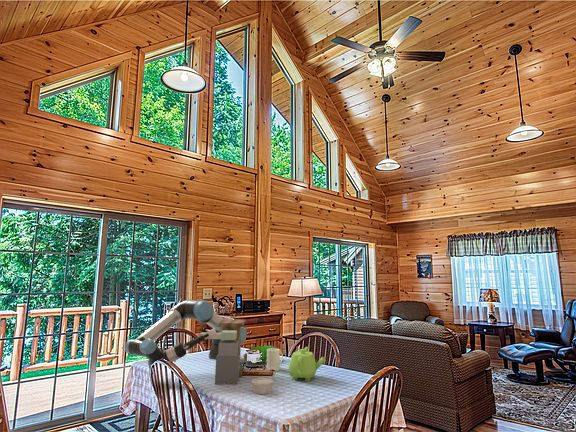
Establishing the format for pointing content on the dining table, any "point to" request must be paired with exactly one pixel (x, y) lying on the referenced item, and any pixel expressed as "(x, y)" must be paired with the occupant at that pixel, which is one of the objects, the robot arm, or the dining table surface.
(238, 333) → the walnut stand
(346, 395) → the dining table surface
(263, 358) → the decorative tree
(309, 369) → the teapot
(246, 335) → the robot arm
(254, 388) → the ramekin
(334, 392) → the dining table surface
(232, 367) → the stepped grey block
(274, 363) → the mug
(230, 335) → the handled block
